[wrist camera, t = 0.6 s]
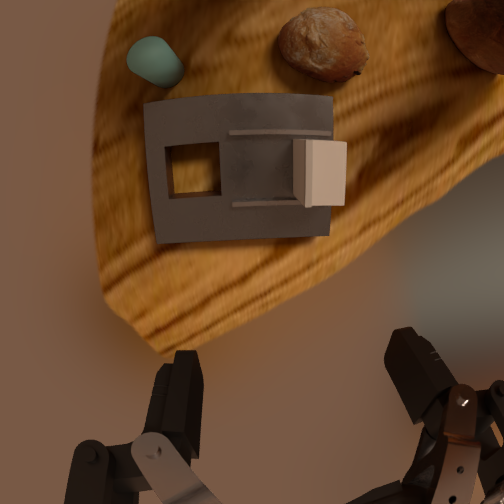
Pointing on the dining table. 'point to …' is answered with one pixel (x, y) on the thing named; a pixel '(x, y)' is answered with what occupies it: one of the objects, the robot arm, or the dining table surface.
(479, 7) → the ceramic vessel
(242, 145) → the housing
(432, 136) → the dining table surface
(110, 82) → the dining table surface
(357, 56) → the bread roll
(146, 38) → the peg
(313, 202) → the block
